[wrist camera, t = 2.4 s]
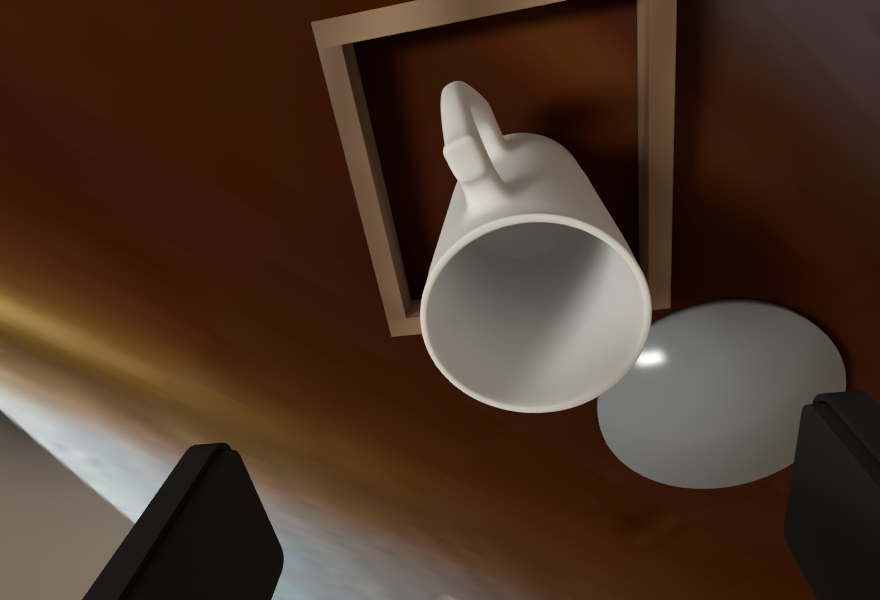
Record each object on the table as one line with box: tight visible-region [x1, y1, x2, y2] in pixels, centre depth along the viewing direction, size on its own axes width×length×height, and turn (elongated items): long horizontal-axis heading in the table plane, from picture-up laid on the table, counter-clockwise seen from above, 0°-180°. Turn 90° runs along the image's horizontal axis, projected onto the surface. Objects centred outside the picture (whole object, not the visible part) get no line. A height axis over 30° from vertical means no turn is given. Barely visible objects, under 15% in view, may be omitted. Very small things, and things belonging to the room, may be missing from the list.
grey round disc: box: [596, 299, 846, 489], centre depth 31 cm, size 13×13×1 cm
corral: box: [311, 0, 677, 337], centre depth 25 cm, size 14×15×2 cm
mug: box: [420, 81, 652, 413], centre depth 21 cm, size 10×7×12 cm, turn 25°
